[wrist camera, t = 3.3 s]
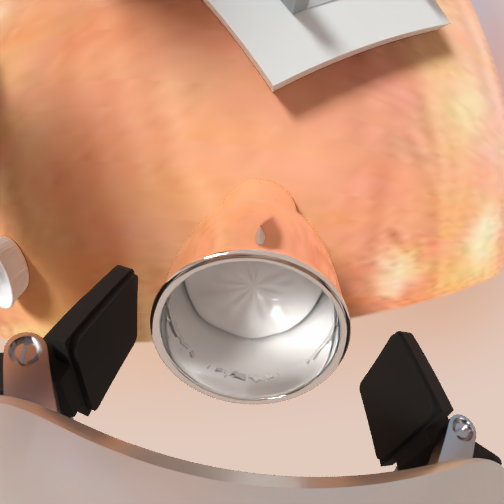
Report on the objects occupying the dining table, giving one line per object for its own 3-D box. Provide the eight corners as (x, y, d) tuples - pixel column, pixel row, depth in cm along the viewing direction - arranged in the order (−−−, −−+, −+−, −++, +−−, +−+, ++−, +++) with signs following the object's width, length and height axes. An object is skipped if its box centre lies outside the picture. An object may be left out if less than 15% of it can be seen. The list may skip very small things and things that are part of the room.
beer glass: (199, 224, 23) (116, 348, 9) (250, 155, 20) (218, 188, 7) (266, 271, 24) (265, 425, 10) (319, 209, 22) (397, 325, 8)
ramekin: (33, 303, 28) (15, 321, 24) (-4, 274, 27) (-22, 287, 23) (33, 249, 25) (10, 265, 21) (-6, 220, 24) (-28, 232, 20)
